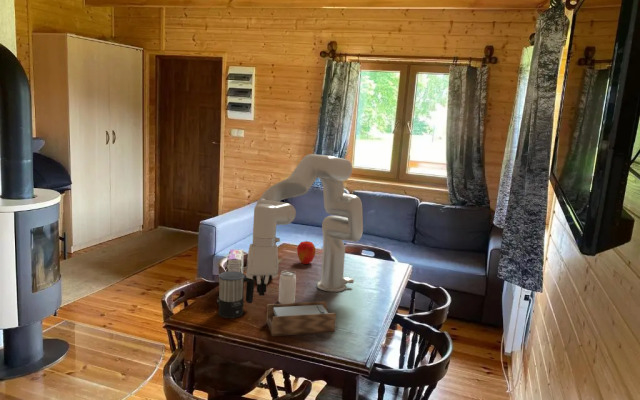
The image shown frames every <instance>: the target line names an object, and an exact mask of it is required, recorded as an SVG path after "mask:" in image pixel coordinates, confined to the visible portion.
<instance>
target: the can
mask: <svg viewBox="0 0 640 400" xmlns="http://www.w3.org/2000/svg"><path fill="white" fill-rule="evenodd" d="M278 282H279V283H278V304H284V303H296V302H295V301H296V287H297V286H296V285H297V284H296V283H297V275H296V273H295V272H294V271H291V270H283V271H281V272H280V274H279V281H278Z"/></svg>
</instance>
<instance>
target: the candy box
mask: <svg viewBox="0 0 640 400" xmlns="http://www.w3.org/2000/svg"><path fill="white" fill-rule="evenodd" d="M244 251H245V250H244V249H236V248H235V249H232V248H231V249H230V250H229V253H228V255H227V260H226V272H228V271H235V272H240V273H243V274H244V254H245V253H244Z"/></svg>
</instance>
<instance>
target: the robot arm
mask: <svg viewBox="0 0 640 400" xmlns="http://www.w3.org/2000/svg"><path fill="white" fill-rule="evenodd" d="M352 173H353V165H352V163H351V160H349V159H347V158H342V157H337V156H332V155H324V154H316V153H310V154H309V153H308V154H307V155H304V157H303V158H302V159H301V161H300V162H299V163H298V164H297V165H296V167H295V168H294V170H293V171H292V172H291V174H290V176H289V177H287V178H285V179H283V180H281V181H278V182H277V183H275V184H273V185H271V186H270V187H268V188H267V189H266V190H265V191H264V192H263V193H262V195H261V196H260V197H259V199H258V200H257V202H256V204H255V206H254V209H253V223H252V225H253V227H252V243H250V244H249V247H248V253H247V259H246V260H247V261H246V274H245V275H246V277H247V278H250V279H253V280H254V282H255V283H256V293H257V294H258V295H259V296H265V293H266V292H267V286H268V285H267V284H268V283H270V281H271V280H273V279H275V278H278V277H279V264H278V259H279V251H278V245H277V243H280V242H281V241H280V240H281V239H280V237H277V226H280V225H283V226H284V225H285V226H286V225H289V224H291V223H292V222H294V220H295V218H296V214H297V211H296V208H295V207H294V205H292V204H291V203H288V202H283V201H282V200H286V199H290V198H296V197H300V196H303V195H306V194H307V193H308V192H309V190H310V189H311V187H312V185H314V183H315V182H316V180H317V179H319V180H320V181H321V183H322V184H321V185H322V190H323V191H322V192H323V207H324V210H325V212H326V213H327V214H329V215H327V216H326V217H325V218H324V219H323V221H322V224H321V230H322V240H323V241H322V244H323V245H322V258H321V260H322V261H321V277H320V278H321V279H320V281H318V282H317V283H316V284H317V285H316V286H317V288H318V289H319V290H321V291H324V292H330V293H338V292H343V291H345V290H346V289H347V284H354V282H355V280H354V278H349V277H344V268H345V258H346V257H345V256H346V255H345V254H346V246H345V243H344V241H348V242H353V243H354V242H355V243H356V242H359V241H360V240H361V239H362V236H363V232H364V223H363V222H364V221H363V220H364V219H363V203H362V200H361V198H360V197H359V196H358V195H355V194H350V193H346V192H345V186H344V182H345V181H347V180H348V179H350V177H351V176H352ZM260 275H264V277H263V280H261V279H262V278H261V279H260Z"/></svg>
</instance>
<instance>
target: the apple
mask: <svg viewBox="0 0 640 400" xmlns="http://www.w3.org/2000/svg"><path fill="white" fill-rule="evenodd" d="M316 250H317V249H316V246H315V244H314V243H313V242H311V241H308V240H304V241H301V242H300V243H299V244H298V245H297V257H298V260H299V262H300V263H301V264H303V265H308V264H310V263H311V262H313V261H314V257H315V255H316Z"/></svg>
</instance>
